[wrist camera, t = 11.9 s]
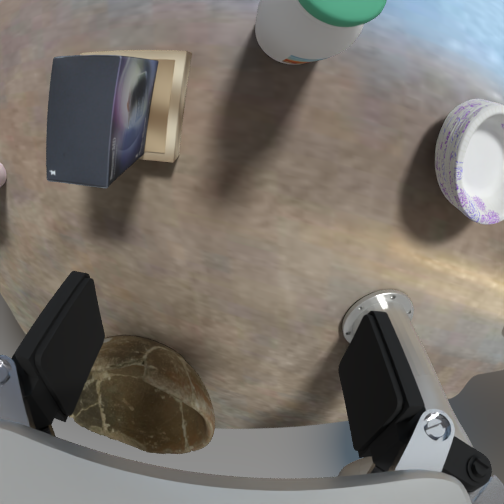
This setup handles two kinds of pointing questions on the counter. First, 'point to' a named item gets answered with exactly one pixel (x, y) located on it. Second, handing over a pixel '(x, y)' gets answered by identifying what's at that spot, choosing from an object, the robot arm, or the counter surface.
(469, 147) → the paper bowls
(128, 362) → the bowl
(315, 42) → the milk bottle
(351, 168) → the counter surface
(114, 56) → the small box
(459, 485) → the robot arm
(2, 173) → the smoothie
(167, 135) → the base
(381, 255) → the counter surface
